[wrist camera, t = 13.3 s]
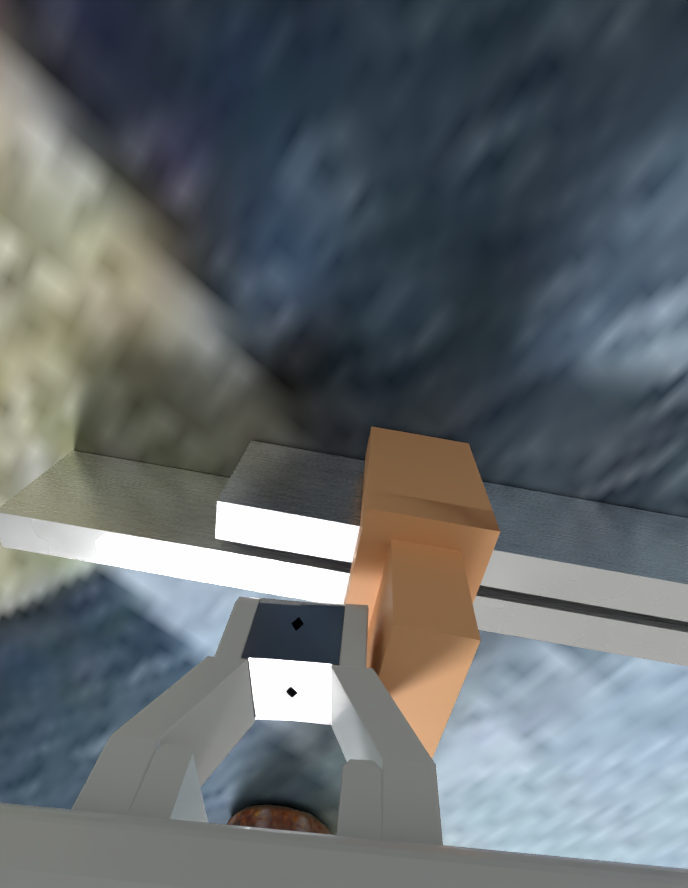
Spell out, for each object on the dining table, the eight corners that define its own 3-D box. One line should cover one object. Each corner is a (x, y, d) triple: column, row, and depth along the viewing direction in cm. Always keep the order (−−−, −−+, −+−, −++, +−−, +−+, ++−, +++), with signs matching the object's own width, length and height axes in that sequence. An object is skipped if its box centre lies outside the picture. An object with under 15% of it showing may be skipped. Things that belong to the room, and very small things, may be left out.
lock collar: (343, 562, 17) (320, 767, 11) (371, 426, 14) (361, 589, 8) (426, 577, 17) (451, 790, 11) (468, 443, 14) (531, 619, 8)
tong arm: (249, 472, 16) (215, 538, 13) (251, 440, 15) (216, 500, 12) (783, 567, 16) (882, 656, 13) (804, 539, 15) (913, 624, 12)
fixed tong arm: (76, 480, 16) (1, 546, 13) (73, 450, 16) (-6, 511, 13) (755, 599, 17) (845, 693, 13) (775, 573, 16) (873, 665, 13)
